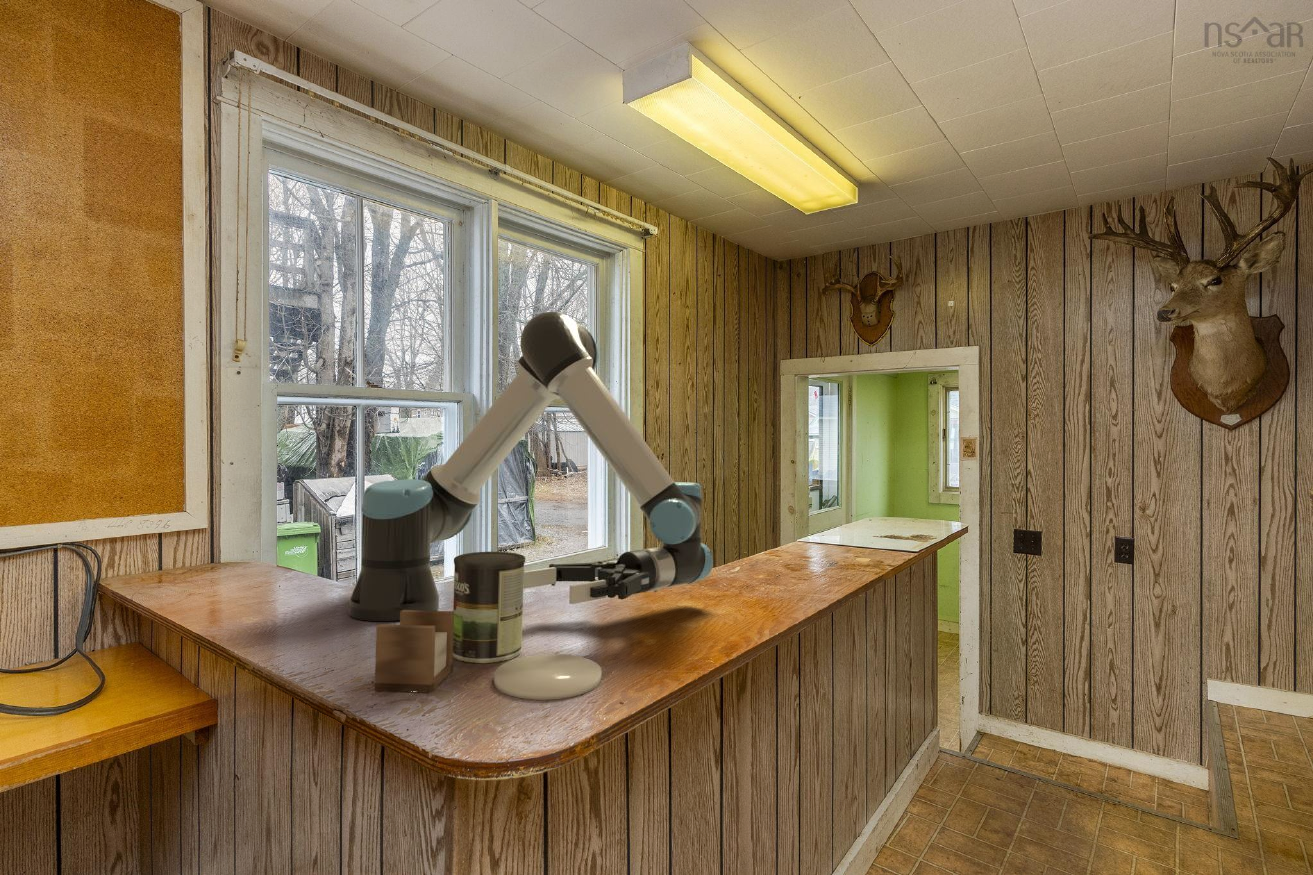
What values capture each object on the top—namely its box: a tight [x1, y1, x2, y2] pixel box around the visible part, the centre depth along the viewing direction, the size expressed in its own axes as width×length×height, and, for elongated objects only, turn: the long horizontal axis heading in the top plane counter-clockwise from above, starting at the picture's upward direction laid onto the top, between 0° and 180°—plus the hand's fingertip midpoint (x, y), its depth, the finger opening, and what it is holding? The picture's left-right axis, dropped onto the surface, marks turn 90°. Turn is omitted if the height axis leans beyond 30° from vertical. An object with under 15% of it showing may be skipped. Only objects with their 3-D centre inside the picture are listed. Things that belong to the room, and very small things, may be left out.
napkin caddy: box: [374, 610, 454, 693], centre depth 84 cm, size 7×8×8 cm
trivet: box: [493, 653, 603, 701], centre depth 86 cm, size 14×14×1 cm
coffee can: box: [452, 551, 526, 664], centre depth 96 cm, size 10×10×14 cm
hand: (545, 587), depth 103 cm, fingers open, 13 cm apart
